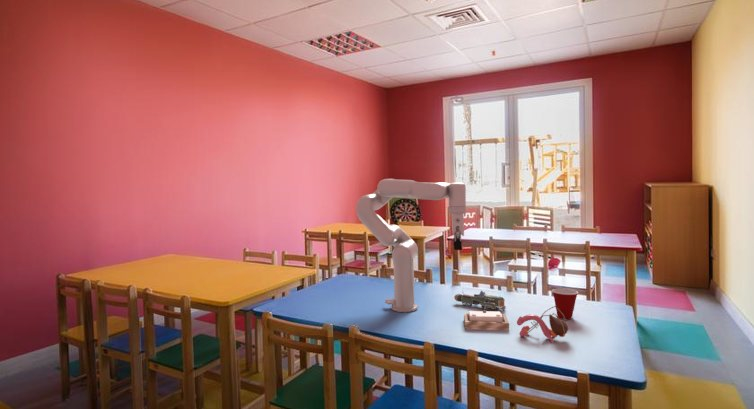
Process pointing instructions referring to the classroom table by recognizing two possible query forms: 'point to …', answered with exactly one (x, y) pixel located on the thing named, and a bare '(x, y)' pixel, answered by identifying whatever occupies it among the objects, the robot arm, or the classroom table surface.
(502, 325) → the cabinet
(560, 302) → the plastic cup
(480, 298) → the hoverbike
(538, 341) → the classroom table surface
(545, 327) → the anatomy model
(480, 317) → the pale pink knobbed block
